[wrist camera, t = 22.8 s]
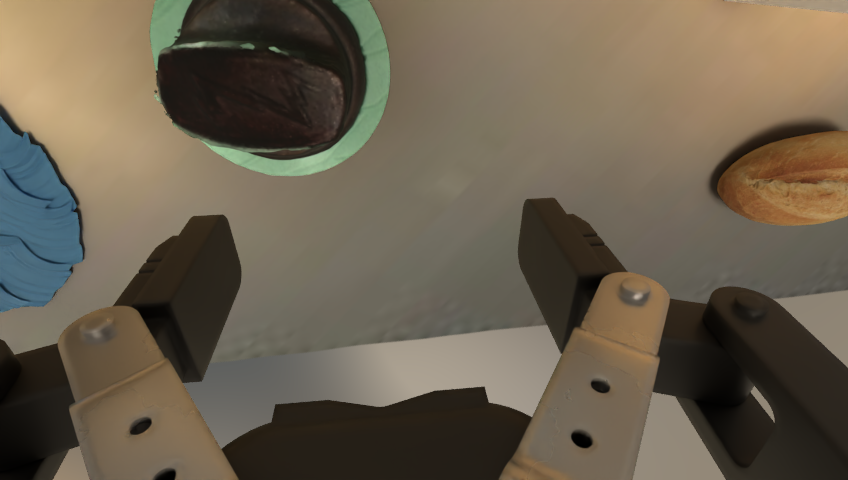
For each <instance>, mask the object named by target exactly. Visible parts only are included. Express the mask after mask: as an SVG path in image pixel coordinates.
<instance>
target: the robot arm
mask: <svg viewBox="0 0 848 480" xmlns="http://www.w3.org/2000/svg"><path fill="white" fill-rule="evenodd" d="M518 258H519V264H520V268H521V270H522V272H523V274H524V276H525V279H526V281H527V283H528V285H529V287H530V289H531V291H532V293H533V296H534V298H535V300H536V302H537V304H538V306H539V308H540V310H541V312H542V315H543V317H544V319H545V321H546V323H547V325H548V327H549V329H550V332H551V334H552V336H553V338H554V340H555V342H556V344H557V346H558V349H559V350H560V352H561V354H562V355H561V358H560V360H559V362H558V364H557V366H556V368H555V370H554V372H553V374H552V377H551V379H550V381H549V383H548V385H547V387H546V389H545V391H544V393H543V396H542V398H541V400H540V402H539V404H538V406H537V408H536V410H535V413H534V415H533V417H530V416H528V415H526V414H524V413H522V412H520V411H517V410H515V409H512V408H510V407H506V406H502V405H498V404H493V403H489V402H488V398H487V395H486V391H485V387H475V388H463V389H452V390H440V391H433V392H430V393H427V394H423V395H420V396H417V397H414V398H411V399H408V400H404V401H401V402H398V403H395V404H392V405H389V406H385V407H374V406H367V405H360V404H353V403H346V402H338V401H331V400H324V401H312V402H300V403H289V404H276V405H275V409H274V413H273V418H272V422H271V423H268V424H265V425H262V426H260V427H258V428H256V429H253V430H251V431H249V432H247V433H245V434H243V435H242V436H240V437H238V438H237V439H235V440H233V441H232V442H230V443H229V444H227V445H226V446H225V447H223V448H222V449H221V448H220V446H219V445H218V443H217V442H216V440H215V438H214V436H213V435H212V433H211V431H210V429H209V428H208V426H207V424H206V422H205V421H204V419H203V417H202V416H201V414H200V412H199V410H198V409H197V407H196V405H195V404H194V402H193V400H192V398H191V397H190V395H189V393H188V392H187V390H186V388H185V386H184V385H183V383H187V382H200V381H202V380H203V377H204V375H205V372H206V370H207V367H208V365H209V362H210V360H211V357H212V355H213V352H214V350H215V347H216V345H217V342H218V340H219V337H220V335H221V332H222V330H223V327H224V325H225V322H226V320H227V317H228V315H229V312H230V310H231V307H232V305H233V302H234V300H235V297H236V295H237V292H238V290H239V287H240V284H241V265H240V261H239V257H238V254H237V250H236V247H235V243H234V240H233V236H232V233H231V229H230V226H229V222H228V220H227V218H226V217H225V216H224V215H207V216H193V217H191V218H190V220H189V221H188V223H187V224H186V226H185V227H184V229H183V230H182V231H181V233H180V234H179V236H172V237H170V238H169V239H168V240H166V241H165V242H163V243H162V244H160V245H159V246H158V247H156V248H155V250H154V251H153V252H152V254H151V255H150V256H149V258H148V259H147V260H146V261H147V263H144V264H143V266H142V267H141V269H140V270H139V274H136V275H135V277H134V278H133V279H132V281H131V282H130V283H129V285H128V286H127V288H126V289H125V290H124V292H123V293H122V294H121V296H120V297H119V298H118V300H117V301H116V302H115V304H114V305H113V306H112V307H107V308H103V309H99V310H96V311H94V312H91V313H89V314H87V315H85V316H83V317H81V318H79V319H78V320H76V321H75V322H73V323H72V324H71V325H69V326H68V327H67V328H66V329H65V330H64V331H63V333H62V334H61V335H60V337H59V339H58V343H57V344H53V345H50V346H46V347H42V348H38V349H35V350H31V351H27V352H23V353H20V354H16V355H14V354H13V352H12V351H11V349H10V348H9V347H8V345H7V344H6V343H5V341H3V340H1V339H0V480H53V478H54V476H55V474H56V473H57V471H58V469H59V467H60V465H61V463H62V462H63V459H64V458H65V456H66V454H67V452H68V450H69V449H71V448H74V447H77V446H80V448H81V452H82V455H83V458H84V462H85V465H86V469H87V472H88V475H89V479H90V480H632V479H633V475H634V471H635V466H636V462H637V457H638V453H639V448H640V444H641V440H642V435H643V431H644V427H645V422H646V418H647V414H648V409H649V405H650V400H651V396H652V392H656V393H661V394H666V395H672V396H676V398H677V400H678V402H679V403H680V405H681V406H682V408H683V410H684V412H685V413H686V415H687V416H688V418H689V420H690V421H691V423H692V425H693V426H694V428H695V429H696V431H697V433H698V434H699V436H700V438H701V439H702V441H703V443H704V444H705V446H706V448H707V449H708V451H709V452H710V454H711V456H712V457H713V459H714V461H715V462H716V464H717V465H718V467H719V469H720V470H721V472H722V474H723V475H724V477H725V479H726V480H848V368H847V367H846V366H845V365H844V364H843V363H842V362H841V361H840V360H839V359H838V358H837V357H836V356H835V355H833V354H832V353H831V352H830V351H829V350H828V349H827V348H826V347H825V346H824V345H823V344H822V343H821V342H819V340H817V339H816V338H815V337H814V336H813V335H812V334H811V333H810V332H809V331H808V330H807V329H806V328H805V327H804V326H802V325H801V324H800V323H799V322H798V321H797V320H796V319H795V318H794V317H793V316H792V315H791V314H790V313H789V312H787V311H786V310H785V309H784V308H783V307H782V306H781V305H780V304H778V303H777V302H776V301H774V300H773V299H771V298H769V297H767V296H765V295H763V294H761V293H759V292H756V291H753V290H749V289H746V288H741V287H722V288H718V289H716V290H715V291H713V293H712V294H711V296H710V299H709V301H708V303H707V304H702V303H695V302H688V301H681V300H675V299H670V298H669V295H668V293H667V291H666V290H665V289H664V288H663V287H662V286H661V285H660V284H658V283H657V282H656V281H654V280H652V279H650V278H648V277H645V276H642V275H639V274H635V273H629V272H627V271H626V269H625V268H624V267H623V266H622V264H621V263H620V262H619V261H618V259H617V258H616V257H615V256H614V254H613V253H612V252H611V251H610V249H609V248H608V247H607V246H605V245H604V242H603V241H602V239H601V238H600V237H599V236H597V233H596V232H595V231H594V229H593V228H592V227H591V226H590V224H589V223H587V222H586V221H584V220H582V219H581V218H579V217H577V216H576V215H574V214H566V212H565V211H564V210H563V208H562V207H561V206H560V204H559V203H558V202H557V200H556V199H555V198H539V199H527V200H526V201H525V203H524V206H523V213H522V221H521V229H520V237H519V245H518ZM754 386H755V387H756V388H757V389H758V391H759V392H760V393H761V394H762V396H763V397H764V398H765V399H766V400H767V402H768V403H769V405H770V407H771V409H772V411H773V414H774V418H775V423H774V422H773V420H772V419H771V418H770V416H769V415H768V414H767V413H766V412H765V410H764V409H763V408H762V406H761V405H760V404H759V402H758V401H757V400H756V399H755V397H754V396H753V395H752V394H751V390H752V388H753V387H754Z"/></svg>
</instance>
